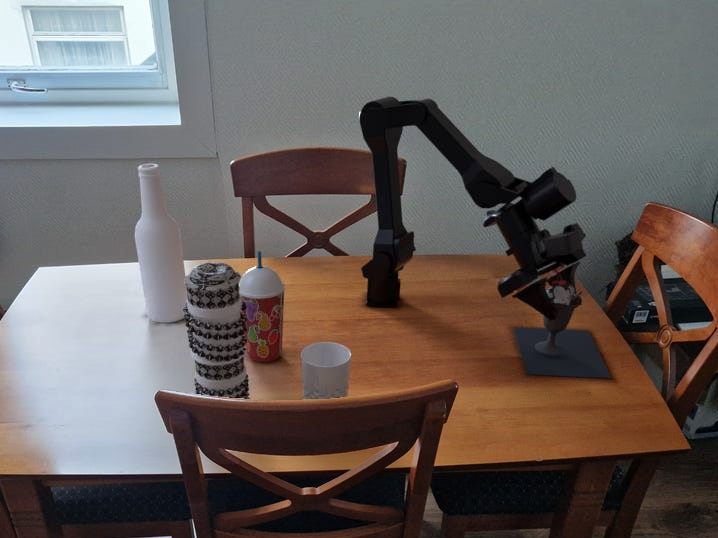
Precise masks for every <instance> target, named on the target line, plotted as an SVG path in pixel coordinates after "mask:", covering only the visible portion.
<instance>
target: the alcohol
mask: <svg viewBox="0 0 718 538" xmlns="http://www.w3.org/2000/svg"><path fill="white" fill-rule="evenodd" d="M160 167H161V166H159V165H158V164H156V163H144V164H140V165H138V167H137V171H138V175H137V176H138V177H139V187H140V189H139V190H140V201H141V204H140V205H141V214H140V218H139V220H138V221H137V223H136V225H135V228H134V241H135V246H136V253H137V254H136V255H137V260H138V266H139V272H140V278H141V286H142V291H143V299H144V303H145V310H146V315H147V316H148V317H149V319H151V320H152V321H153V322H157V323H160V324H161V323H162V324H168V323H176V322H178V321H181V320H183V319H185V317H184V314H185V313H184V312H183V308H184V307H186V302H187V298H188V297H187V288H186V285H185V283H184V279H185V277H186V270H185V269H186V267H185V261H184V254H183V253H184V251H183V244H182V234H181V229H180V227H179V224H178V223H177V221H176V219H174V218H173V217H172V216H171V215H170V214H169V211H168V209H167V205H166V204H167V203H166V199H165V194H164V189H163V183H162V180H161V172H160Z"/></svg>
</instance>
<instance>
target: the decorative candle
mask: <svg viewBox="0 0 718 538" xmlns="http://www.w3.org/2000/svg"><path fill="white" fill-rule="evenodd" d="M241 278H242V276H241V274H240V273H239V272H237V271H236V270H235V269H234V268H233V267H232V266H231V265H229V264H227V263H224V262H220V261H211V262H210V261H208V262H203V263H200V264H198V265H195V266H194V267H193V268H192V269H191V271H190V272H189V274H187V275H185V279H184V283H185V285H186V288H187V297H188V298H187V302H186V307H184V308H183V312H184V313H185V314H184V321H185V323H184V326H185V327H186V328H187V330H186V334H187V339H188V342H189V343H188V347H189V349H190V354H191V359H193V360H194V364H195V368H194V375H195V377H194V379H193V381H194V387H195V395H196V394H201V395H209V396H218V397H229V398H244V399H250V400H251V398H250V397H249V396H250V392H249V391H250V387H249V386H250V384H249V380H250V379H249V374H247V366H246V363H245V356H246V354H247V352H246V351H247V348H246V346H245V344H246V343H247V339H246V336H244V334H245V332H246V331H247V328H246V325H245V322H246V321H247V318H246V316H245V314H243V313H241V312H240V309H241V307H242V311H244V310H246V309H247V306H246V303H245V302H243V301H242V299H241V295H240V293H239V291H240V287H239V283H240V280H241Z"/></svg>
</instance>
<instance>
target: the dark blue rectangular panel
mask: <svg viewBox="0 0 718 538" xmlns="http://www.w3.org/2000/svg"><path fill="white" fill-rule="evenodd" d="M512 329H513V332H514V336H515V339H516V342H517V345H518V349H519V353H520V356H521V359H522V361H523V364H524V365H523V366H524V369H525V372H526V375H527V376H542V377H543V376H544V377H559V378H580V379H594V380H595V379H596V380H597V379H598V380H613V378H612V376H611V375H612V374H610V372H609V370H608V368H607V366H606V363H605V361H604V360H603V357H602V355H601V354H600V352H599V350H598V348H597V345H596V344H595V342H594V340H593V338H592V335H591V334H590V332H589V330H588V329H567V328H566V329H564V330H563V331H561V332H558V333H557V334H556V337H555V343H556V344H559V345H560V346H561V347H562V348H563V350H564V351H563V353H561V354H559V355H546V354H543V353H540V352H539V351H537V350H536V348H535V345H536V344H537V343H539V342H546V341H547V339H548V337H549V331H548V330H547V329H546V328H545V327H520V326H513V327H512Z"/></svg>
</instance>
